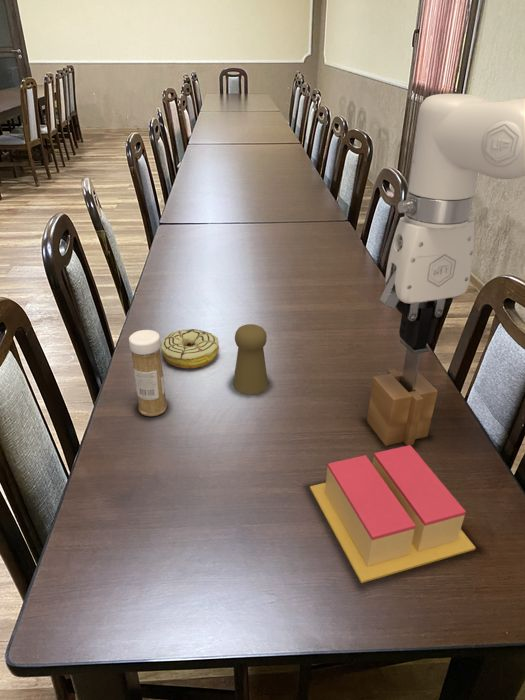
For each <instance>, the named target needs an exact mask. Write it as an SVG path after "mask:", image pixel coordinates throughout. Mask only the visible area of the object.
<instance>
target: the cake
mask: <svg viewBox="0 0 525 700" xmlns="http://www.w3.org/2000/svg"><path fill="white" fill-rule="evenodd" d="M309 490H310V492H311V493H312V495H313V497H314V499H315V501H316V502H317V505H318V506H319V509H320V510H321V512H322V513H323V516H324V518H325V519H326V521H327V523H328V525H329V527H330V529H331V530H332V532H333V534H334V536H335V538H336V540H337V542H338V544H339V546H340V547H341V549H342V551H343V552H344V555H345V556H346V558H347V560H348V562H349V564H350V565H351V568H352V569H353V571H354V574H355V575H356V577H357V579H358V580H359V582H360V584H364V583H367V582H372V581H374V580H377V579H381V578H384V577H388V576H392V575H394V574H398V573H401V572H404V571H408V570H411V569H415V568H419V567H423V566H425V565H429V564H432V563H436V562H439V561H441V560H445V559H448V558H452V557H456V556H459V555H462V554H466V553H469V552H473V551H475V550H476V546H475V545H474V544H473V542H472V541H471V540H470V539H469V537H468V536H467V535H466V533H465V532H464V531H463V530H462V526H463V523H464V519H465V516H466V513H467V511H466V510H465V509H464V507H462V505H461V504H460V503H459V501H458V500H457V499H456V498H455V497H454V495H452V493H451V492H450V491H449V489H448V488H447V487H446V486H445V485H444V484H443V482H442V481H441V480H440V479H439V477H437V475H436V474H435V473H434V472H433V469H431V468H430V466H428V464H427V463H426V462H425V461H424V460H423V458H422V457H421V456H420V455H419V453H418V452H417V451H416V450H415V449H414V447H413V445H408V446H406V445H405V446H400V447H399V446H398V447H396V448H391V449H386V450H382V451H378V452H374V453H373V459H372V462H371V460H370V459H369V457H368V456H367V454H364V455H360V456H355V457H350V458H346V459H342V460H338V461H333V462H330V463H327V467H326V477H325V482H322V483H318V484H315V485H310V486H309Z"/></svg>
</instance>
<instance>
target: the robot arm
mask: <svg viewBox="0 0 525 700" xmlns="http://www.w3.org/2000/svg"><path fill="white" fill-rule="evenodd" d="M410 165H411V166H410V173H409V180H408V189H407V192H406V197H405V200H403V201H399V202H398V204H397V211H398V213H399V214H404V216H401V217H400V218H399V221H398V223H397V225H396V228H395V231H394V236H393V238H392V241H391V245H390V249H389V254H388V260H387V263H386V265H387V266H386V270H385V271H386V272H385V279H384V282H385V283H384V287H385V288H384V289H383V292H382V293H381V296H380V299H379V302H380V303H381V304H383V305H384V307H387V308H391V309H396V310H397V311H398V312H399V313H400V314H401V317H400V324H399V331H398V333H399V338H400V340H401V339H402V340H403V341H405V342H406V343H407V344H408V345H409V346H410V347H413V346H415V345H416V342H417V337H418V331H419V325H420V322H419V320H418V319H416V318H417V314H418V308H419V303H420V302H426V303H428V304H429V305H430V306H432V307H433V312H432V317H431V322H430V327H429V333H428V338H427V345H429V344H432V343H433V339H434V335H435V331H436V326H437V322H438V318H440V317H441V316H442V315H443V314H444V309H445V308H447V306H448V305H449V304H450V303H451V302H452V300H455V299H457V298H460V297H461V296H463V295H464V294H465V293H466V292H467V291H468V288H469V286H470V281H471V276H472V269H473V261H474V256H475V255H474V254H475V238H476V234H475V230H476V229H475V219H474V218H472V217H471V216H470V215H471V210H472V205H473V200H474V195H475V191H476V185H477V181H478V177H479V176H478V175H479V174H481V175H484V176H487V177H490V178H494V179H500V180H514V179H518V178H522V177H524V176H525V96H522V97H517V98H513V99H509V100H502V101H488V100H487V98H486V97H483V96H480V95H476V94H468V93H438V94H437V93H436V94H432V95H429V96H428V97H426V98H425V99H424V100H423V101H422V102H421V104H420V106H419V109H418V115H417V122H416V129H415V136H414V144H413V152H412V158H411V164H410Z"/></svg>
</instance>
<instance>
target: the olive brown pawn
mask: <svg viewBox="0 0 525 700" xmlns="http://www.w3.org/2000/svg"><path fill="white" fill-rule="evenodd" d="M267 339H268V337H267V332H266V330H265V329H264V327H262V326H260V325H258V324H254V323H248V324H243V325H241V326H239V327H238V328H237V330H236V331H235V334H234V342H235V345H236V347H237V353H236V361H235V366H234V367H235V369H234V375H233V383H232V386H233V389H234V390H236V392H238V393H240V394H243V395H249V396H250V395H251V396H253V395H258V394H261V393H264V392H265V391H267V389H268V387H269V381H268V379H269V378H268V374H267V366H266V359H265V358H266V357H265V351H264V347H265V346H266V343H267Z"/></svg>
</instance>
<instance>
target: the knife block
mask: <svg viewBox="0 0 525 700" xmlns="http://www.w3.org/2000/svg"><path fill="white" fill-rule="evenodd" d="M402 375H403V370H401V371H397V370H396V369H395V368H390V369H387V373H386V374H380V375H375V376H373V377H372V383H371V389H370V396H369V403H368V410H367V417H366V423H367V424H368V425H369V426H370V428H371V429H372V430H373V432H374V433H375V434H376V436H377V437H378V438H379V440H380V441H381V442H382V443H383V445H384V446H391V445H395V444H400V443H404V444H405V446H408V445H411V446H414V445H415V441H416V440H418V439H423V438H428V437H429V432H430V427H431V425H432V418H433V414H434V409H435V406H436V405H435V404H436V400H437V396H438V389H437V388H435V386H433V385H432V384H431V383H430V382H429V381H428V380H427V379H426V378H425V377H424V376H423V375H422V374H421V373H420V372H419V371H418V372H417V378H416V383H415V389H414V391H412V392H408V391H407V390H406V389H405V388H404V387H403V386H402V385H401V381H402Z"/></svg>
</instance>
